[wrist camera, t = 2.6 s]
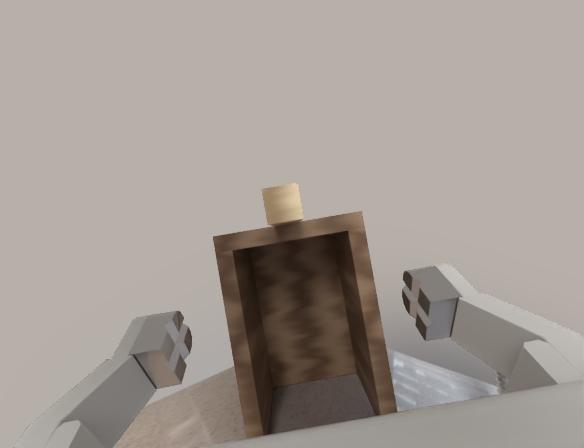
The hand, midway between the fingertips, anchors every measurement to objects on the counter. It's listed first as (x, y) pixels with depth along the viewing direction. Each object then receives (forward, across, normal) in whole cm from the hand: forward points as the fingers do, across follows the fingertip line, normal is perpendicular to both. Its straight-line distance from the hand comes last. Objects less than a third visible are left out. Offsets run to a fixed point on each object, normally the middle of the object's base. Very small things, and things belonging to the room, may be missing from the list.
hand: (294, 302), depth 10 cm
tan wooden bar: (+23, 0, +9) cm, 25 cm away
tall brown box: (+15, 0, +35) cm, 38 cm away
